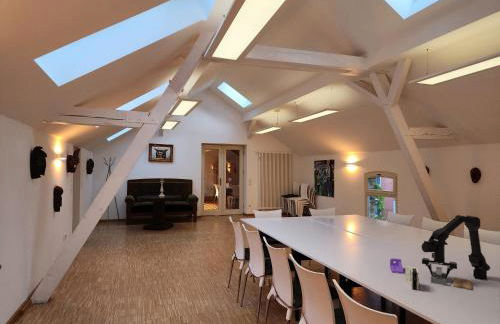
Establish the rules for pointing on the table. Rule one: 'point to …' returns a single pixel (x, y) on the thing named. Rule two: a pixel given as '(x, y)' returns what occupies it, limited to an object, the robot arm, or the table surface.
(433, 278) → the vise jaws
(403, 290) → the table surface
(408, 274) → the hinge
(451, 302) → the table surface
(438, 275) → the grey flared bar
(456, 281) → the walnut pad
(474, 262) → the robot arm
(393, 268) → the bracket
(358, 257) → the table surface
